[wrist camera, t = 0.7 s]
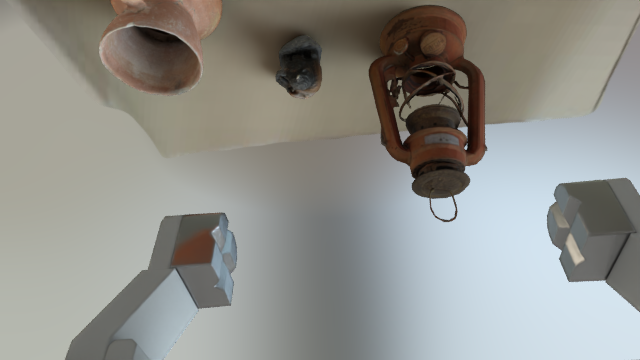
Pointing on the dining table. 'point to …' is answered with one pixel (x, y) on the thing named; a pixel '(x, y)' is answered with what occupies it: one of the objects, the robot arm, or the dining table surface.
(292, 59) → the bison figurine
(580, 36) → the dining table surface
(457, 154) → the lantern
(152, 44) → the ceramic jug
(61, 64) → the dining table surface
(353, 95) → the dining table surface
